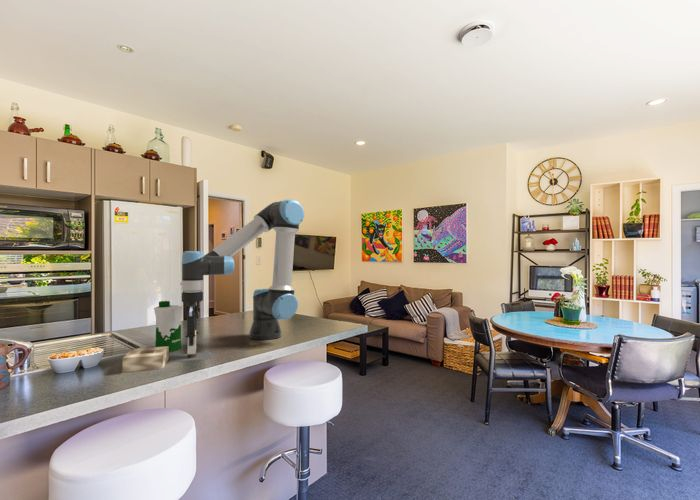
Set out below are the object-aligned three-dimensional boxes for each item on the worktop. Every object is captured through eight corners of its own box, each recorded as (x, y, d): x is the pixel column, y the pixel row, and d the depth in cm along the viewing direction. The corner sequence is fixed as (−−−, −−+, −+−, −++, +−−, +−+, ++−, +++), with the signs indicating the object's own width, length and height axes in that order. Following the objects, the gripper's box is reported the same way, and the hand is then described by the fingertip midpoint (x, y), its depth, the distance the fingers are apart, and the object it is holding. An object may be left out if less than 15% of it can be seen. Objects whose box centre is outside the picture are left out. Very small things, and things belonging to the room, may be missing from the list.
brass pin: (196, 355, 137) (196, 329, 137) (195, 357, 134) (195, 331, 134) (188, 355, 136) (188, 329, 136) (187, 358, 133) (187, 331, 133)
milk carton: (166, 347, 150) (166, 300, 150) (185, 348, 148) (185, 300, 149) (150, 352, 142) (151, 302, 142) (170, 354, 140) (171, 303, 140)
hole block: (168, 359, 133) (168, 346, 133) (162, 369, 121) (162, 355, 121) (131, 362, 129) (132, 348, 129) (122, 373, 117) (122, 358, 118)
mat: (212, 352, 142) (212, 351, 142) (210, 359, 133) (210, 358, 133) (173, 355, 138) (173, 354, 138) (169, 363, 128) (169, 362, 128)
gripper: (184, 289, 142) (183, 348, 141) (178, 293, 127) (178, 359, 127) (204, 289, 144) (203, 346, 144) (201, 293, 129) (200, 357, 129)
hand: (191, 352), depth 135 cm, fingers closed on brass pin, 3 cm apart
